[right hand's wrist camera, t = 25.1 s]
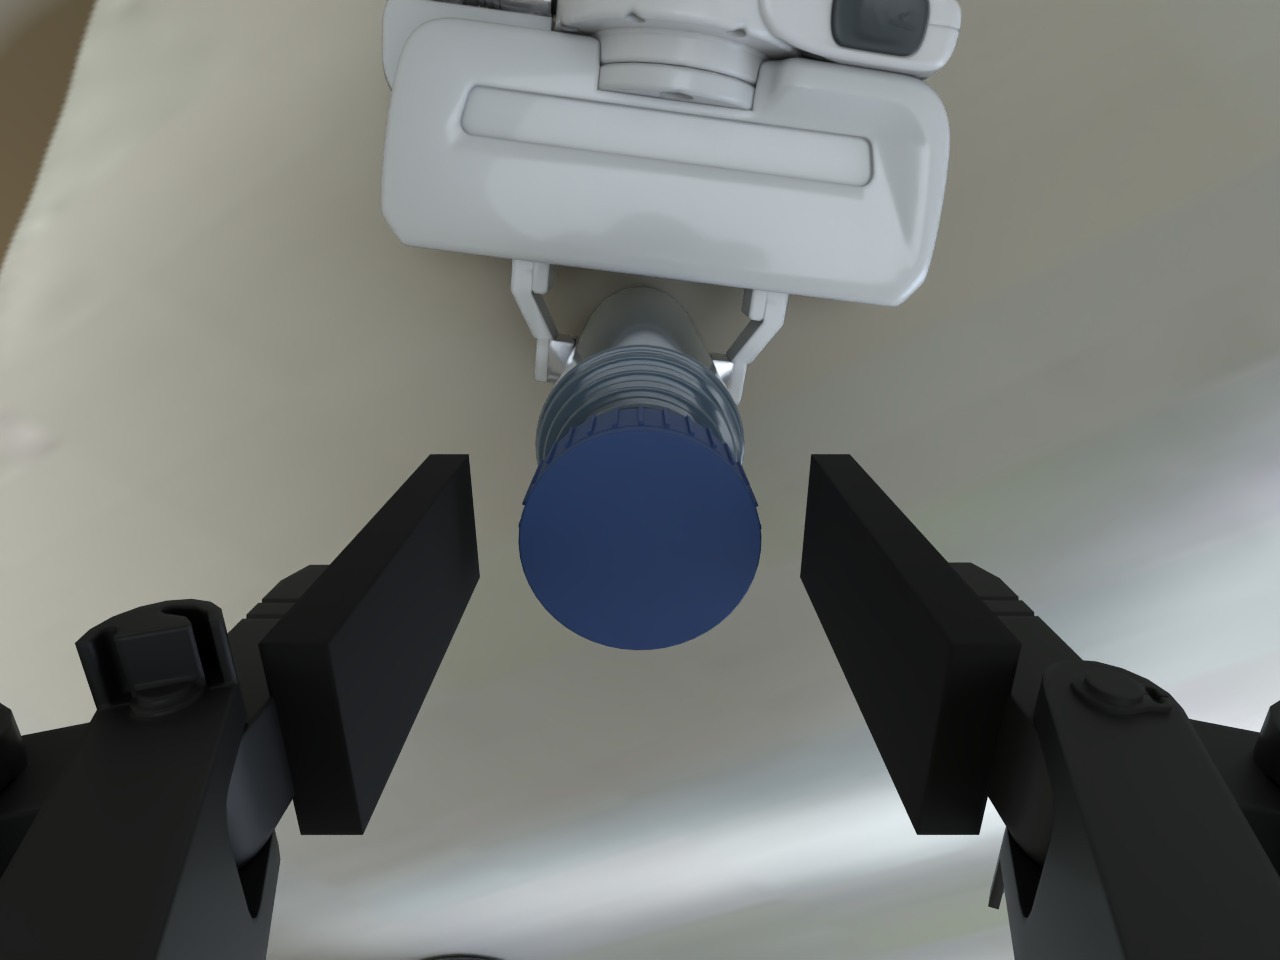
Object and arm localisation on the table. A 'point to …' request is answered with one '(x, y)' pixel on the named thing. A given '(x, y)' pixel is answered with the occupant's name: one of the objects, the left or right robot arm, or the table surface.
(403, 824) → the table surface
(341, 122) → the table surface
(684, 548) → the cap
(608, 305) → the bottle
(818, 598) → the right robot arm
